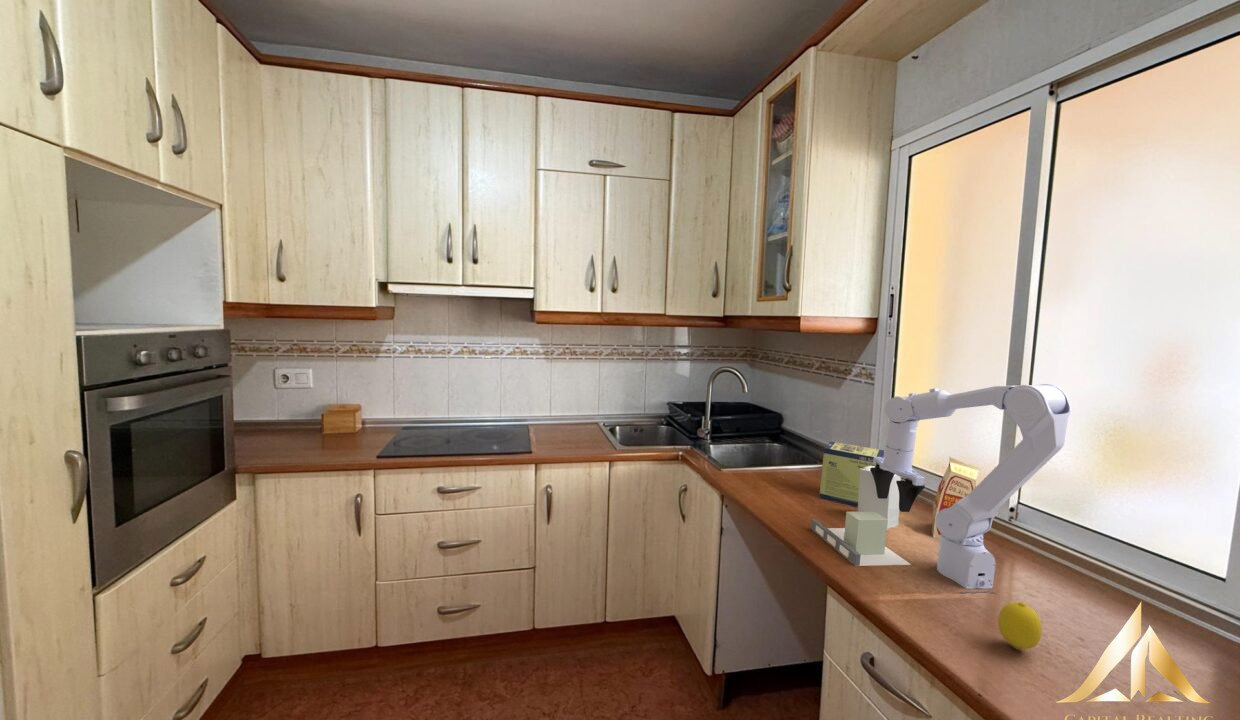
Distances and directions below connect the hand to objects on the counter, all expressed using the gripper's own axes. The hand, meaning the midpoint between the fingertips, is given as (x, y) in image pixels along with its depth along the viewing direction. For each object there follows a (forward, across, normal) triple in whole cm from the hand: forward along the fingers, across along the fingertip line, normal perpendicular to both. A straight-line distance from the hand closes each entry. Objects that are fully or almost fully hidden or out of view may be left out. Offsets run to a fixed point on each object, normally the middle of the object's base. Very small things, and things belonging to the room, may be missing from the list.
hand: (892, 504), depth 115 cm
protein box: (+11, -30, +9) cm, 33 cm away
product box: (+9, +3, -9) cm, 13 cm away
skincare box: (+11, -12, +5) cm, 17 cm away
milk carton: (+11, -6, +22) cm, 25 cm away
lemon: (+10, +35, -3) cm, 37 cm away
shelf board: (+10, +1, -9) cm, 14 cm away
